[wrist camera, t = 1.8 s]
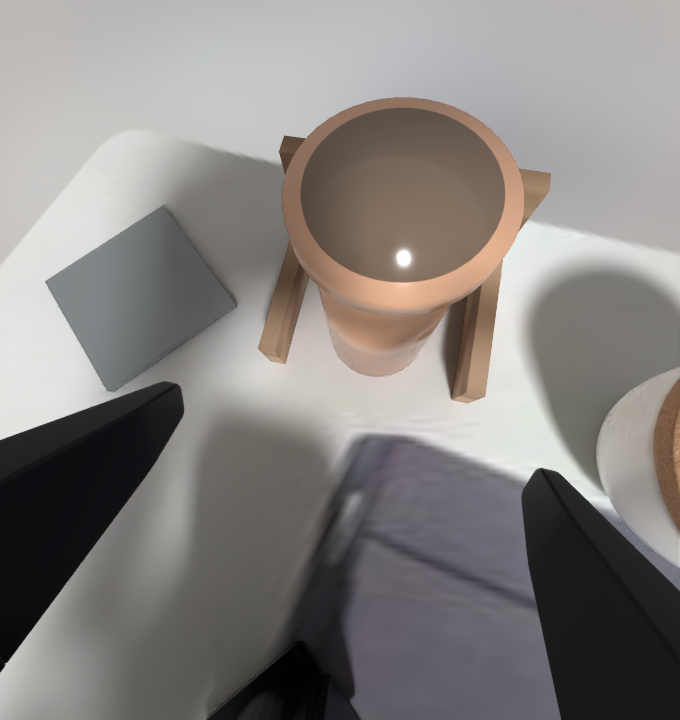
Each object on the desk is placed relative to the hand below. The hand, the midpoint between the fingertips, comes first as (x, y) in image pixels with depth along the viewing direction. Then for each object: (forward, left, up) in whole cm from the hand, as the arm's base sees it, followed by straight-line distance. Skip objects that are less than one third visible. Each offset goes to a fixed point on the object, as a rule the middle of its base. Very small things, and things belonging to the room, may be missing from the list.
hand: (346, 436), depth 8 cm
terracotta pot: (+6, +5, -13) cm, 15 cm away
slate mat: (-6, +17, -13) cm, 22 cm away
